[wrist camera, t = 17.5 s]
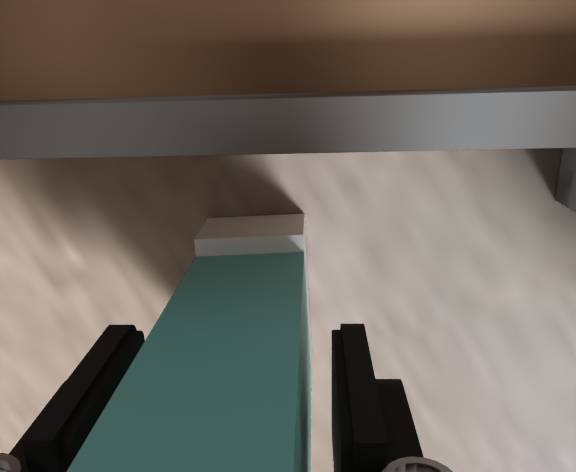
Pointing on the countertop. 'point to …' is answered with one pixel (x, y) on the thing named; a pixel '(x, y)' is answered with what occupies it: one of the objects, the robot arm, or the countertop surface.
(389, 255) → the countertop surface
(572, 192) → the tray
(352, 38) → the channel board
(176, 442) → the teal block
